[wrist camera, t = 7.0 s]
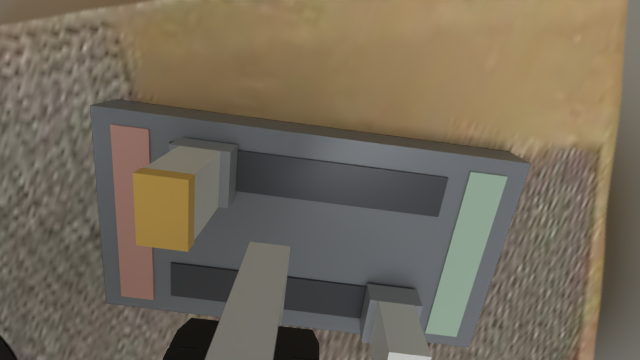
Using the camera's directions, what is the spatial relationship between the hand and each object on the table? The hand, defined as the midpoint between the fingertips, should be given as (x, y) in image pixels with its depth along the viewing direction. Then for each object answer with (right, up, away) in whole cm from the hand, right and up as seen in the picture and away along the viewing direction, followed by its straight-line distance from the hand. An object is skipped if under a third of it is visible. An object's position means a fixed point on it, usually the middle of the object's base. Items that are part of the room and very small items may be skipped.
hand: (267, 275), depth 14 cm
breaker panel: (+1, 0, +15) cm, 15 cm away
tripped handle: (-5, +4, +10) cm, 12 cm away
